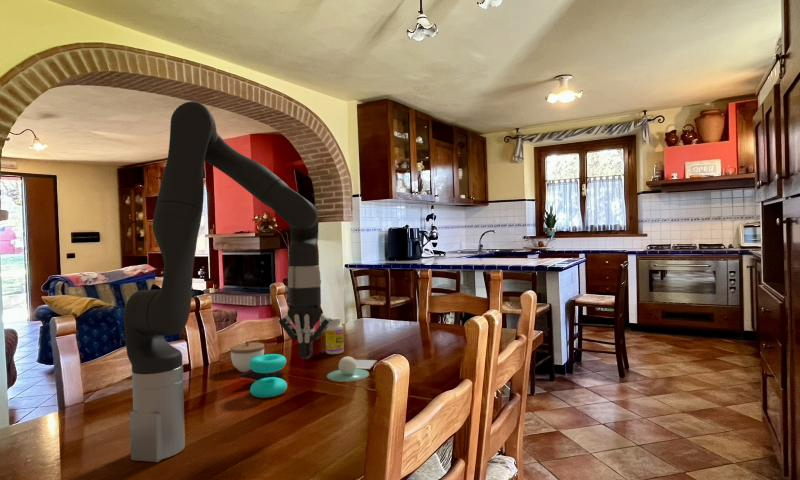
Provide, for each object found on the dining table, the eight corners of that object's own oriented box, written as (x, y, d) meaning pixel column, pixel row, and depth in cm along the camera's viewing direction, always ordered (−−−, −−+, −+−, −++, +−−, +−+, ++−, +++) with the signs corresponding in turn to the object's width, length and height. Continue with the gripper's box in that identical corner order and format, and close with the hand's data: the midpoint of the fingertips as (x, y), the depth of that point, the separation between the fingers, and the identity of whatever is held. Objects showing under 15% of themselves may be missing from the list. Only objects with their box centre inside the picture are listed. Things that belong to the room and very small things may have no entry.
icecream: (249, 369, 130) (293, 362, 142) (236, 359, 135) (280, 353, 147) (244, 392, 131) (289, 383, 142) (232, 381, 136) (276, 373, 147)
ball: (353, 372, 140) (355, 354, 143) (335, 371, 141) (338, 353, 144) (356, 377, 145) (359, 360, 148) (339, 376, 146) (342, 359, 149)
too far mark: (369, 369, 150) (369, 368, 150) (339, 368, 152) (339, 367, 152) (376, 360, 160) (376, 360, 160) (348, 360, 161) (348, 359, 161)
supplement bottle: (336, 355, 168) (335, 320, 168) (322, 353, 172) (321, 319, 172) (347, 351, 174) (346, 317, 174) (333, 349, 177) (332, 316, 177)
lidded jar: (236, 376, 146) (235, 346, 146) (226, 368, 155) (226, 341, 155) (269, 369, 152) (268, 341, 152) (258, 363, 161) (257, 336, 161)
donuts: (241, 359, 128) (270, 351, 136) (242, 395, 128) (271, 385, 136) (265, 364, 122) (293, 355, 131) (266, 401, 123) (294, 390, 131)
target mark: (362, 382, 136) (362, 382, 136) (320, 381, 139) (320, 380, 139) (373, 369, 149) (373, 369, 149) (335, 368, 151) (335, 368, 151)
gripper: (271, 286, 107) (272, 361, 107) (324, 286, 105) (326, 363, 105) (285, 283, 115) (287, 353, 115) (336, 283, 112) (337, 355, 112)
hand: (306, 357), depth 110 cm, fingers closed
